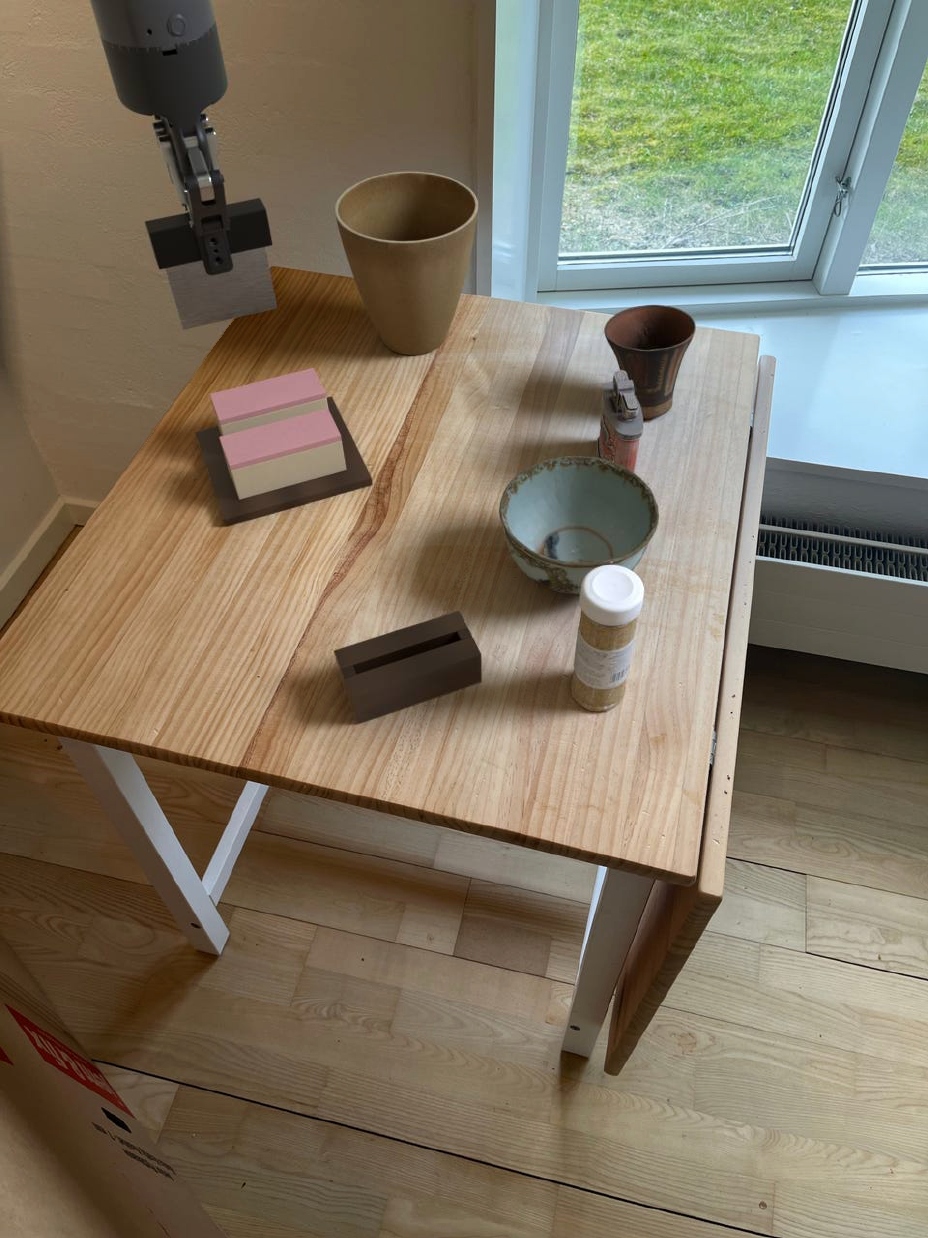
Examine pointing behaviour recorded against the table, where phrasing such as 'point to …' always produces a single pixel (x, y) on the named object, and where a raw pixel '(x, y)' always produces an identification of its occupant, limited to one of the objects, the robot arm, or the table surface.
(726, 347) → the table surface
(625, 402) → the lighter
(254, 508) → the cake board
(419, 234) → the plant pot
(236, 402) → the slice
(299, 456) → the cake
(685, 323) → the cup
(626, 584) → the sprinkles bottle
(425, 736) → the table surface
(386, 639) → the knife stand
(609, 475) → the bowl
